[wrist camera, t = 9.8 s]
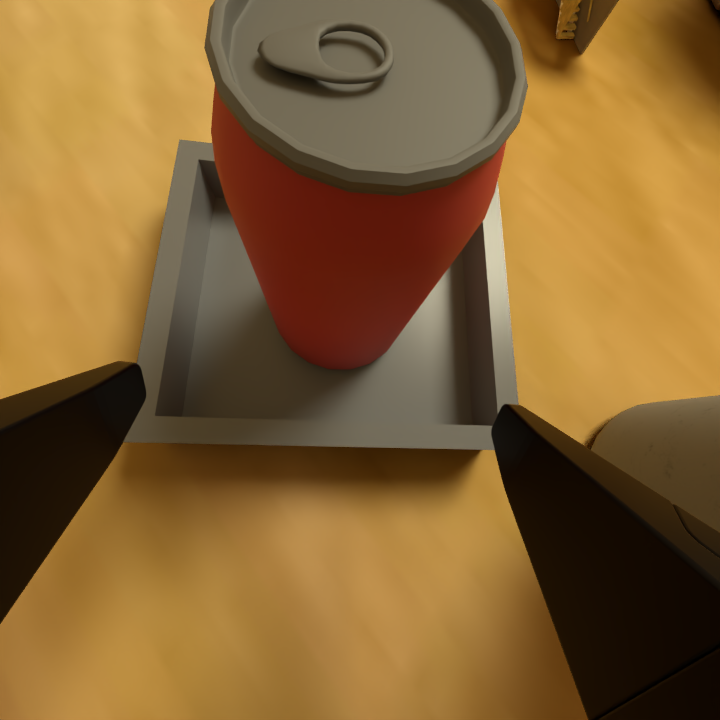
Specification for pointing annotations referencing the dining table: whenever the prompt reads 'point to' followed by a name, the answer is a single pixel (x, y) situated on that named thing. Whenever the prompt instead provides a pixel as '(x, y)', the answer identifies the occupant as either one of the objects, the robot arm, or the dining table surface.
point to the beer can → (358, 154)
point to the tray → (290, 371)
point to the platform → (582, 19)
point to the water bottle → (670, 451)
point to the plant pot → (716, 4)
